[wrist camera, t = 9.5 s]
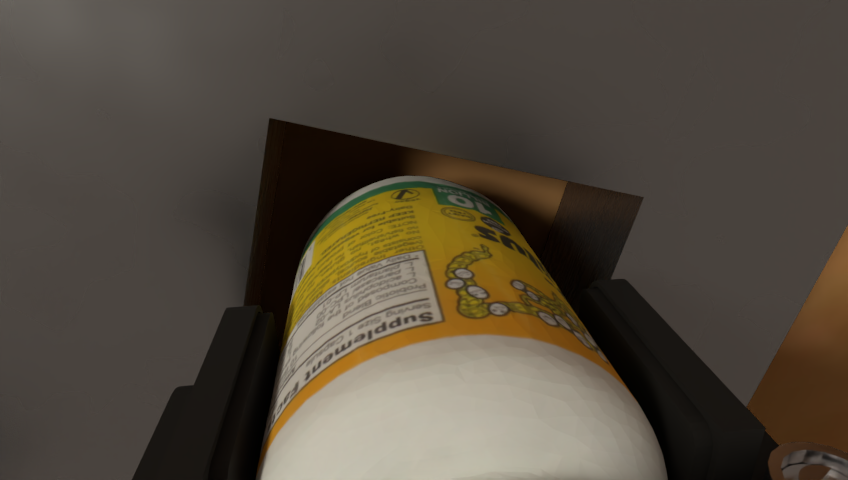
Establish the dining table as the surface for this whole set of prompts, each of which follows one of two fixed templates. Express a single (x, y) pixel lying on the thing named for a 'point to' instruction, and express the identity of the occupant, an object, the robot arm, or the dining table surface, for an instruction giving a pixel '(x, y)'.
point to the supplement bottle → (441, 354)
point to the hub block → (401, 125)
